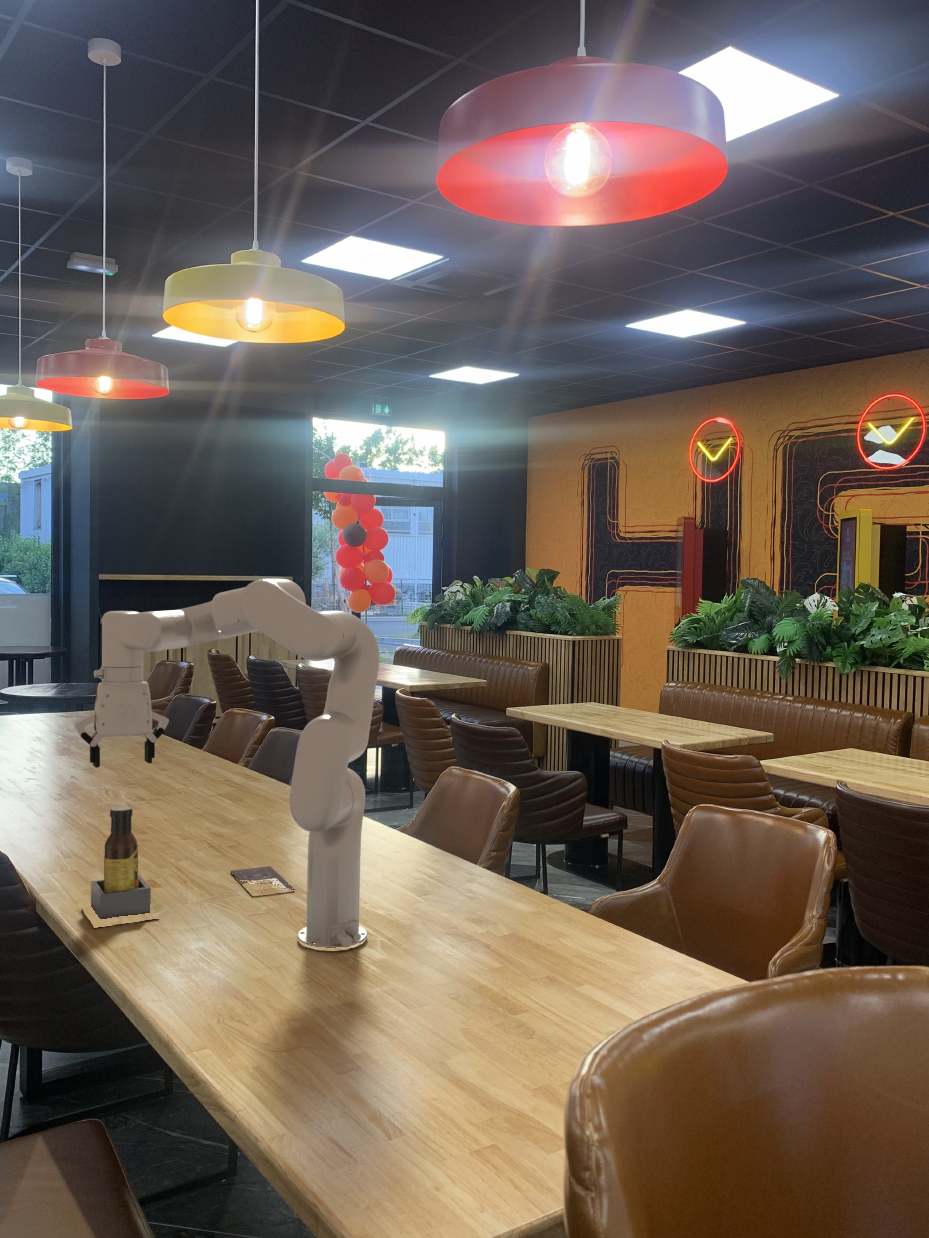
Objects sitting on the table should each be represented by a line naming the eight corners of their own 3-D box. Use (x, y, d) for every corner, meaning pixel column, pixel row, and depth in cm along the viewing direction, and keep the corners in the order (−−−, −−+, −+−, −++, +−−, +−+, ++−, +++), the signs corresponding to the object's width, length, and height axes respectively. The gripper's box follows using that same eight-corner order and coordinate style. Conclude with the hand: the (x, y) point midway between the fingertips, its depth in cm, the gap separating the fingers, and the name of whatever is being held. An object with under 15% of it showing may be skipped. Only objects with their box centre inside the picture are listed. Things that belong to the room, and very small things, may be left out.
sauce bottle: (142, 912, 192) (143, 809, 191) (108, 917, 189) (109, 813, 188) (132, 902, 197) (133, 803, 197) (99, 908, 194) (100, 806, 193)
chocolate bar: (270, 866, 225) (294, 889, 209) (270, 870, 225) (294, 893, 209) (230, 870, 221) (252, 894, 205) (230, 874, 221) (252, 899, 205)
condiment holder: (159, 918, 191) (159, 889, 191) (93, 928, 185) (93, 898, 185) (144, 900, 201) (145, 872, 201) (81, 909, 195) (82, 880, 195)
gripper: (78, 679, 183) (78, 771, 184) (173, 675, 192) (173, 764, 193) (71, 675, 190) (71, 764, 191) (163, 672, 199) (163, 757, 199)
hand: (122, 764), depth 192 cm, fingers open, 9 cm apart
